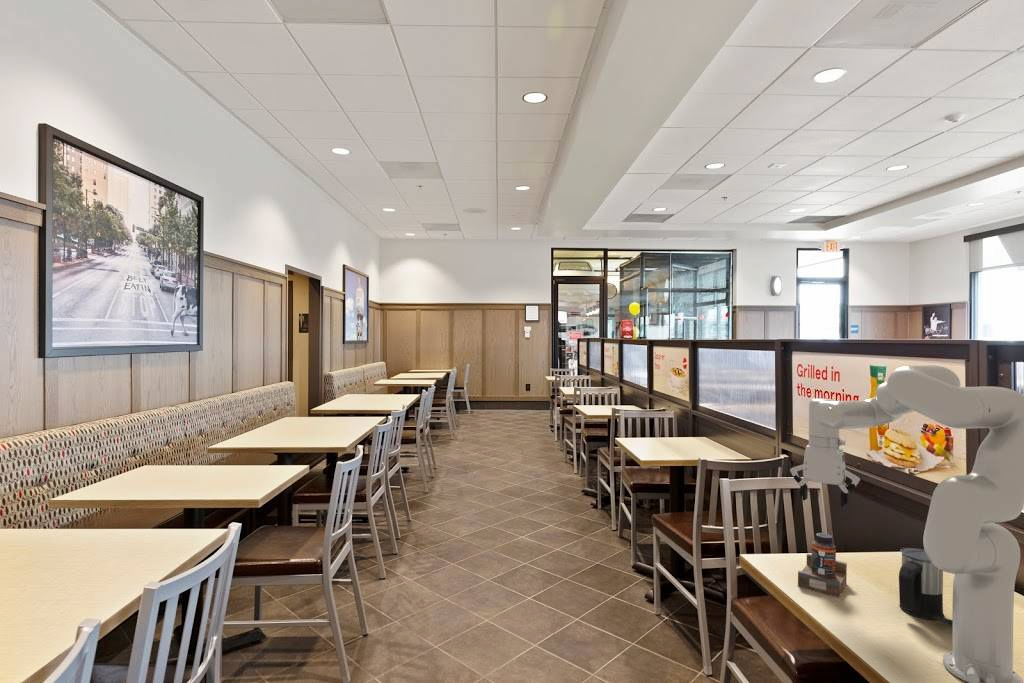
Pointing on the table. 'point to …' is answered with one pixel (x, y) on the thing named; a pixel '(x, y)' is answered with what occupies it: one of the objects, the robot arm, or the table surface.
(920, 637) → the table surface
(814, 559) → the supplement bottle
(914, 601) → the milk frother
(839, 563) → the shelf
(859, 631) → the table surface
